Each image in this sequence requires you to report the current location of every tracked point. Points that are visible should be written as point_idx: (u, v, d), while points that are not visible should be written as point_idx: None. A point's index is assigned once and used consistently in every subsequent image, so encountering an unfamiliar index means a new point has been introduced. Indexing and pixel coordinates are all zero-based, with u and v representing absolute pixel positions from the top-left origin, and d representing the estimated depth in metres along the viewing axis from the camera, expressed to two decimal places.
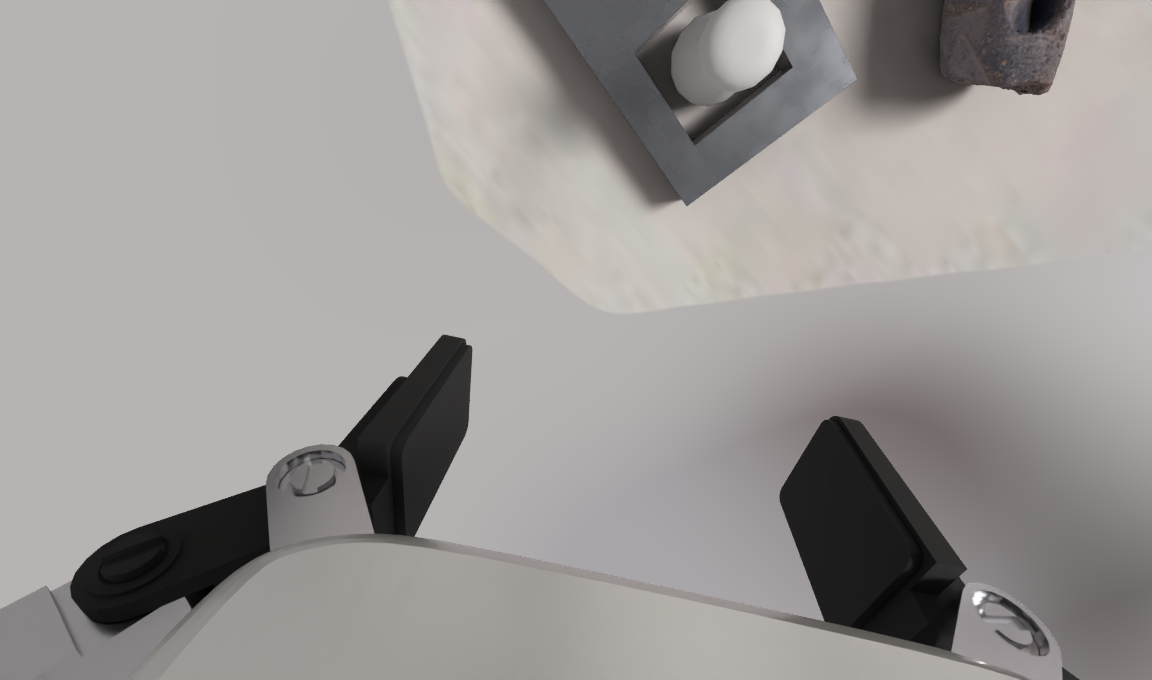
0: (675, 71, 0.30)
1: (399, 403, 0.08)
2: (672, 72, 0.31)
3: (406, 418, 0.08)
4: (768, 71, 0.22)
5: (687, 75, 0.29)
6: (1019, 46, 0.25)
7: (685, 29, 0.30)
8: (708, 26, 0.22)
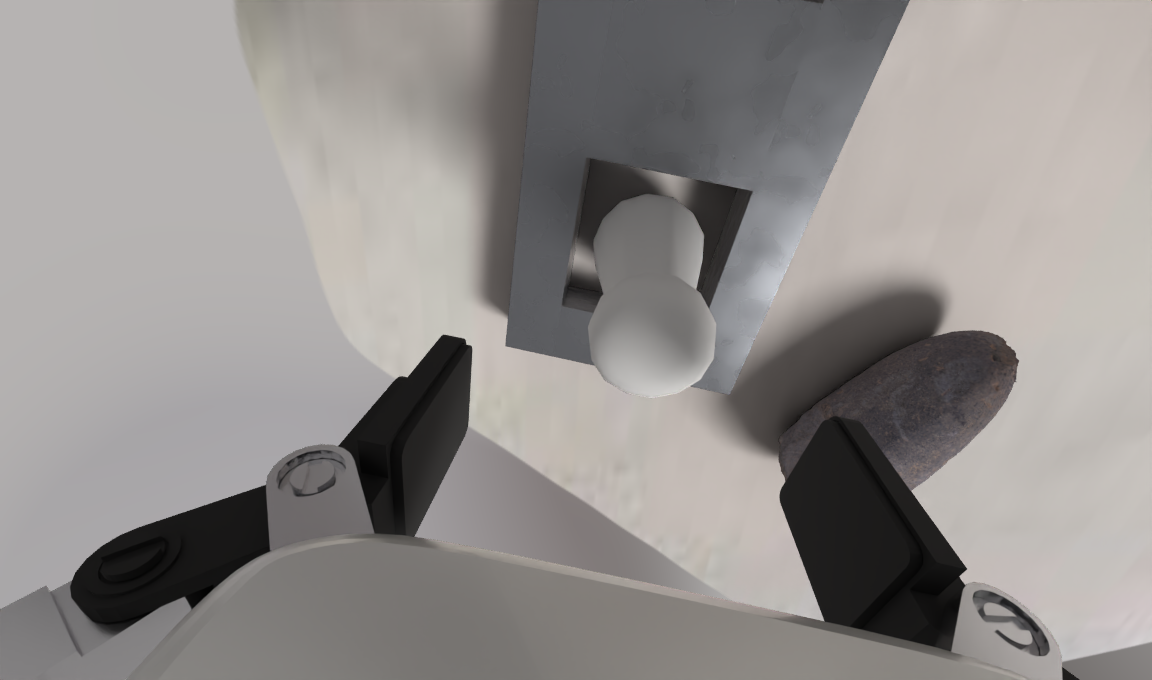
0: (605, 226, 0.21)
1: (399, 403, 0.08)
2: (604, 220, 0.22)
3: (405, 418, 0.08)
4: (647, 396, 0.15)
5: (603, 254, 0.19)
6: None
7: (652, 198, 0.21)
8: (636, 289, 0.13)
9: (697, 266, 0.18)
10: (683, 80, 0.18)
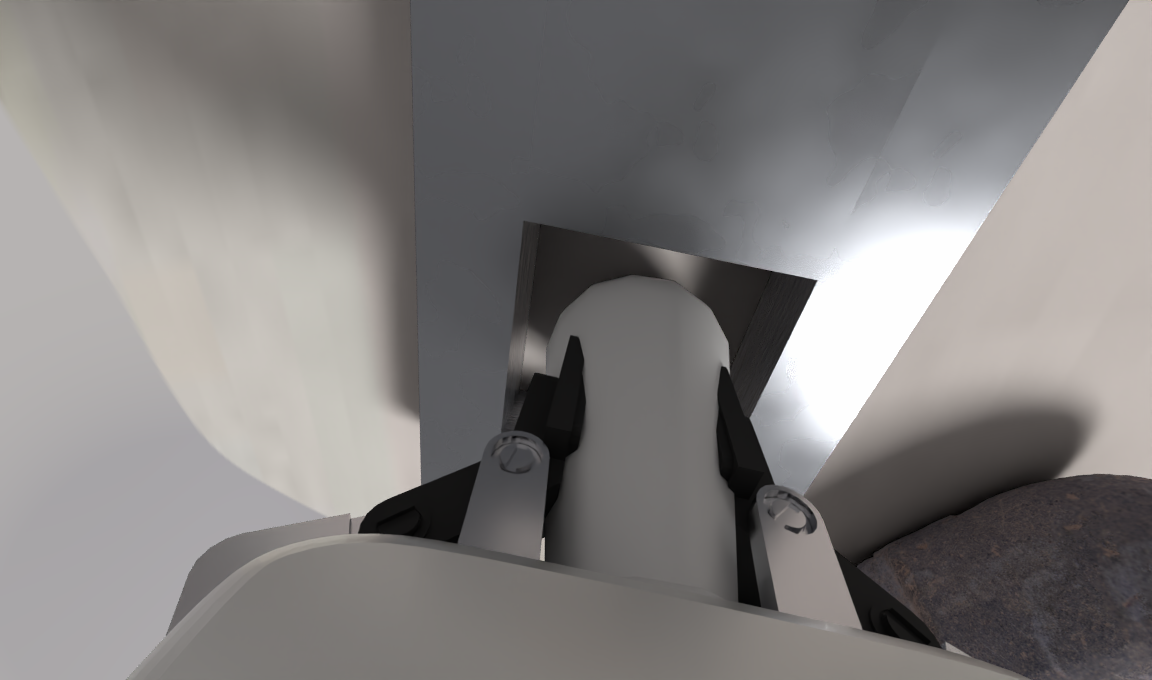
0: (562, 334, 0.12)
1: (564, 395, 0.09)
2: (561, 319, 0.13)
3: (576, 408, 0.09)
4: None
5: None
6: None
7: (642, 288, 0.12)
8: None
9: None
10: (696, 85, 0.09)
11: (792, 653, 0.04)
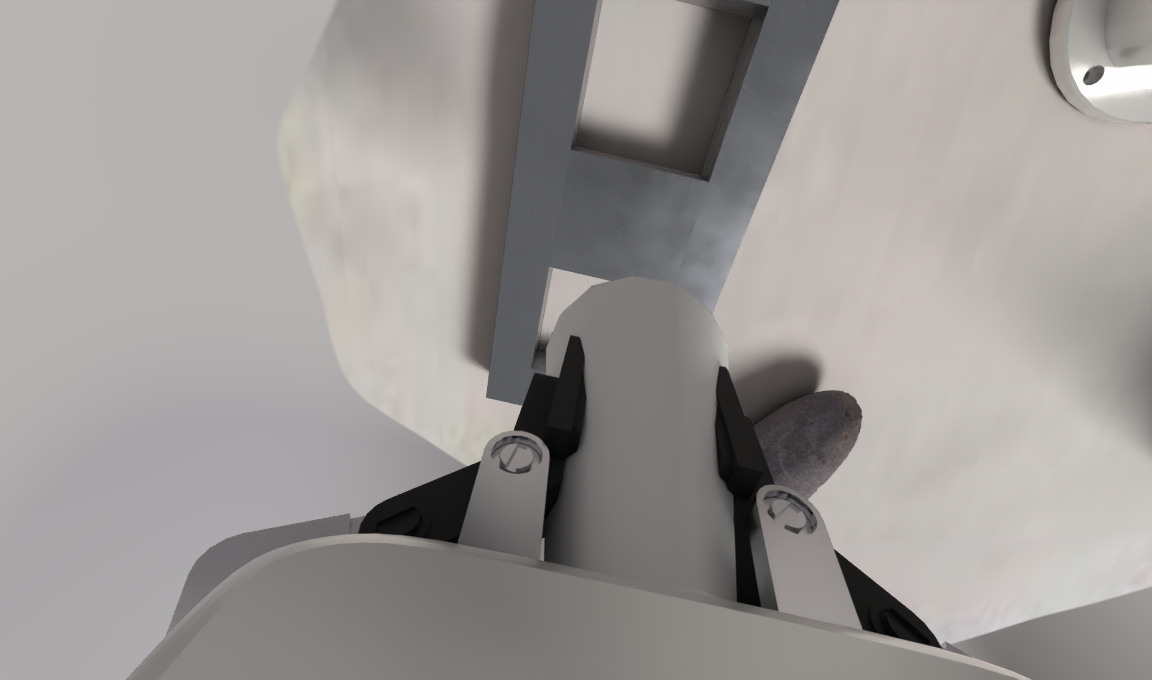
0: (562, 335, 0.12)
1: (564, 395, 0.09)
2: (561, 320, 0.13)
3: (576, 408, 0.09)
4: None
5: None
6: None
7: (642, 290, 0.12)
8: None
9: None
10: (617, 221, 0.25)
11: (792, 653, 0.04)
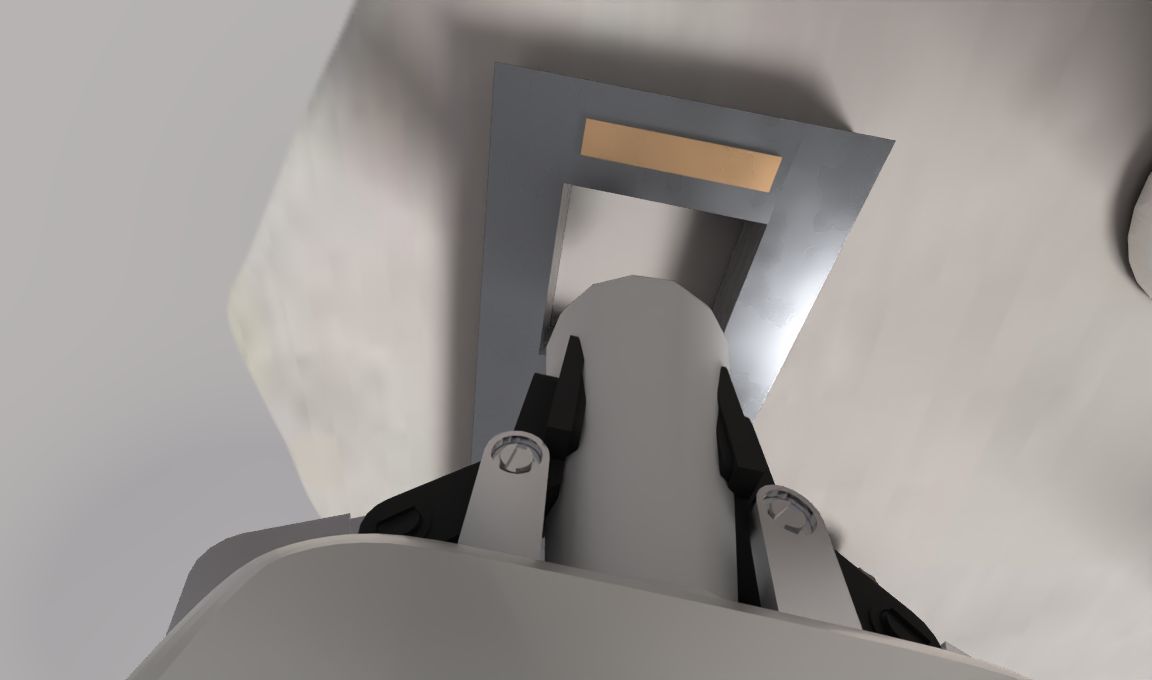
0: (562, 334, 0.12)
1: (564, 395, 0.09)
2: (562, 319, 0.13)
3: (575, 407, 0.09)
4: None
5: None
6: None
7: (642, 288, 0.12)
8: None
9: None
10: None
11: (792, 653, 0.04)
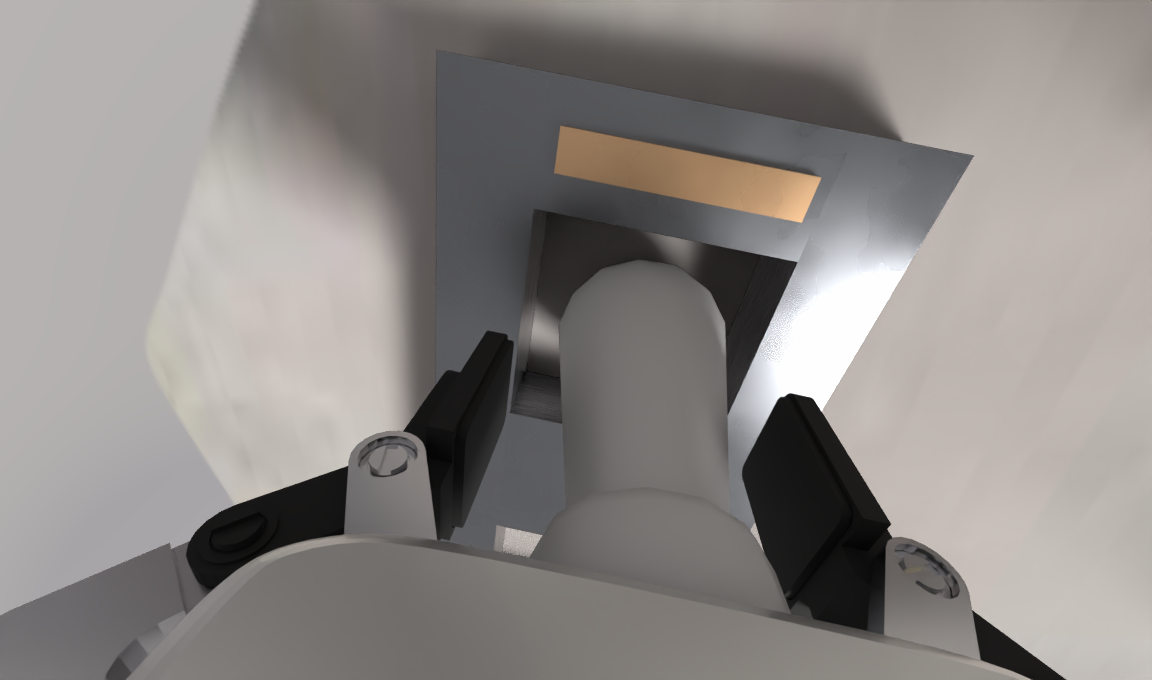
0: (575, 311, 0.14)
1: (458, 393, 0.08)
2: (574, 299, 0.14)
3: (466, 406, 0.08)
4: None
5: (570, 366, 0.12)
6: None
7: (648, 271, 0.13)
8: (619, 571, 0.06)
9: (724, 401, 0.11)
10: None
11: (792, 653, 0.04)
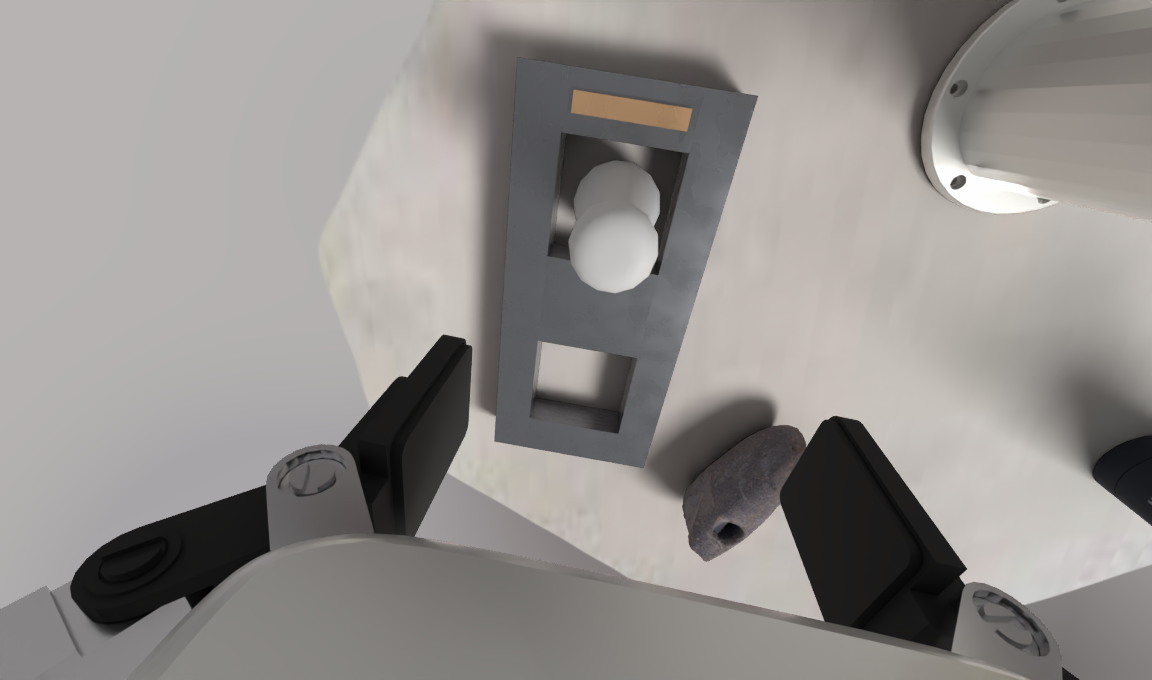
0: (582, 185, 0.27)
1: (399, 403, 0.08)
2: (581, 182, 0.27)
3: (406, 417, 0.08)
4: (612, 291, 0.21)
5: (581, 203, 0.25)
6: (708, 539, 0.37)
7: (618, 163, 0.27)
8: (600, 208, 0.19)
9: (651, 209, 0.24)
10: (589, 305, 0.31)
11: (792, 653, 0.04)
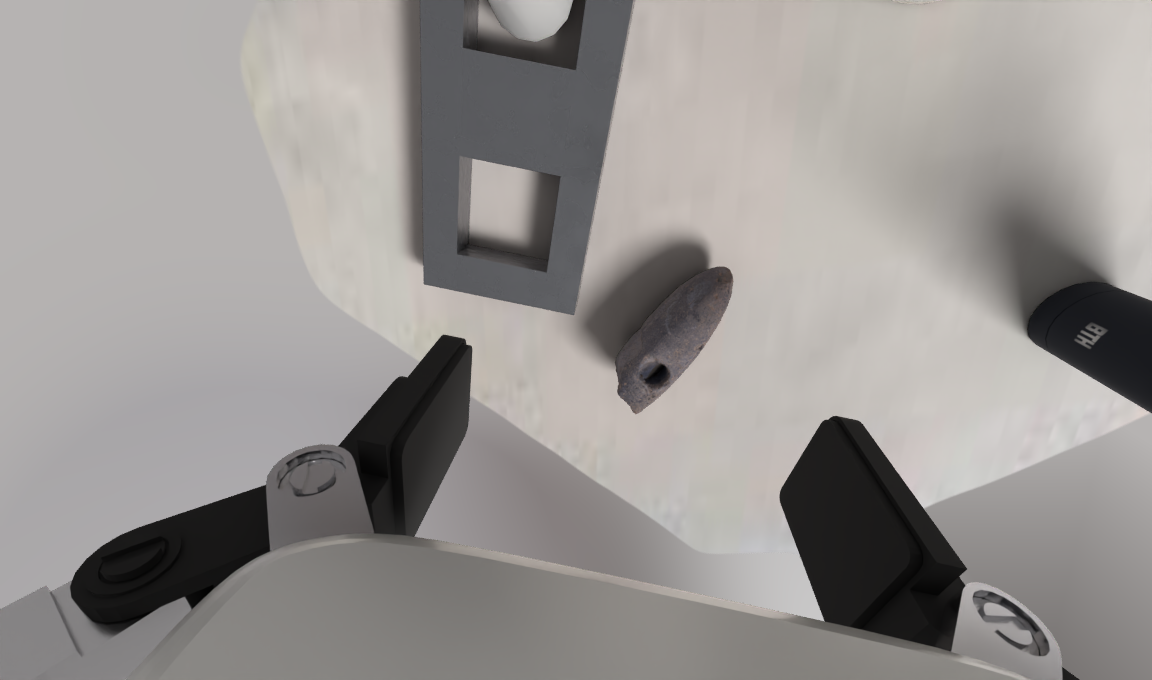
0: None
1: (399, 403, 0.08)
2: None
3: (405, 418, 0.08)
4: None
5: None
6: (634, 383, 0.37)
7: None
8: None
9: None
10: (508, 110, 0.31)
11: (792, 653, 0.04)
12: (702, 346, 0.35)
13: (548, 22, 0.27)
